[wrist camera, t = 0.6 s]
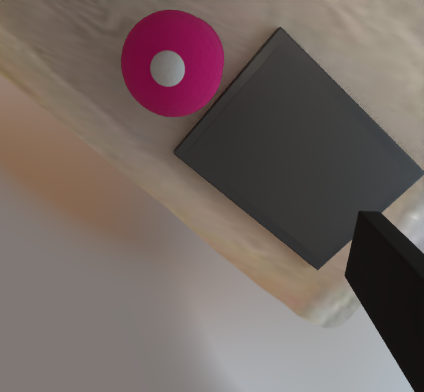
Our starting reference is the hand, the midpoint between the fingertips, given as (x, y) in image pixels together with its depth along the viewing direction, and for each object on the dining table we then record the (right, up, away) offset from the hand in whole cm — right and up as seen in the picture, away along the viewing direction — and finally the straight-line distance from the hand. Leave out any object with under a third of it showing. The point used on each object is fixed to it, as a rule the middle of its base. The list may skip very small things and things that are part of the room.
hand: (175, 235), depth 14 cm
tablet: (+11, +5, +28) cm, 30 cm away
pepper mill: (-1, +15, +24) cm, 28 cm away
